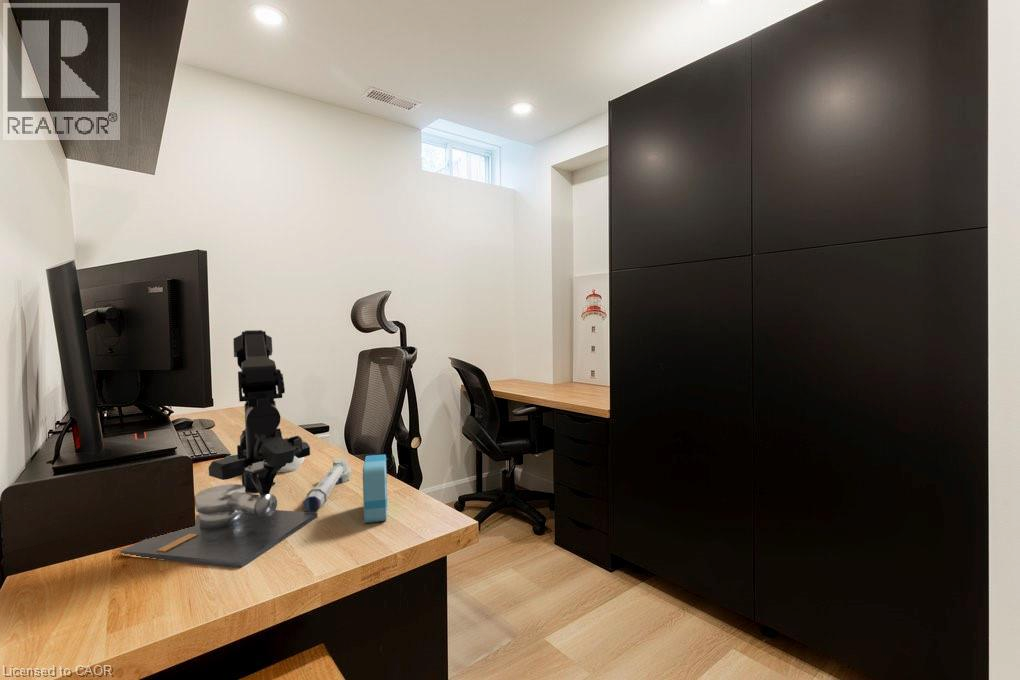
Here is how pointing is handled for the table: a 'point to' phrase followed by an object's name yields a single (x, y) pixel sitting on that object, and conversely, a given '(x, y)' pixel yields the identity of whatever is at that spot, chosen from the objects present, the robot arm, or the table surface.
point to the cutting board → (223, 538)
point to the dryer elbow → (234, 501)
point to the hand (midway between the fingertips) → (264, 498)
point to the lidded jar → (294, 464)
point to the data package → (375, 488)
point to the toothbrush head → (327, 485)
